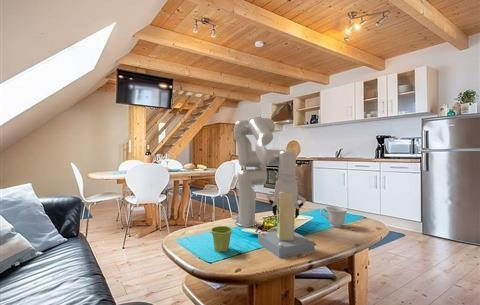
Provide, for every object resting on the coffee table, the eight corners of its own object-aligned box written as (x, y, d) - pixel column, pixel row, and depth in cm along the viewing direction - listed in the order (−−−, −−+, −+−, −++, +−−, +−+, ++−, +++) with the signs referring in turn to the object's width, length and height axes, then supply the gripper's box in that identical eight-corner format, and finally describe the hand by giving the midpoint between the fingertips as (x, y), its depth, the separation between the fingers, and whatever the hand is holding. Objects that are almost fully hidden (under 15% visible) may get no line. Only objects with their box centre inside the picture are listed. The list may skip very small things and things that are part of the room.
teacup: (318, 222, 156) (318, 205, 156) (343, 223, 154) (344, 206, 154) (321, 228, 144) (322, 210, 144) (349, 229, 142) (350, 211, 142)
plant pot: (224, 255, 105) (224, 234, 105) (206, 250, 110) (206, 230, 110) (236, 248, 113) (236, 228, 113) (219, 243, 118) (219, 224, 118)
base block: (279, 257, 104) (279, 245, 104) (257, 242, 120) (258, 231, 120) (314, 251, 111) (314, 239, 111) (289, 237, 128) (290, 227, 128)
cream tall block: (274, 234, 120) (276, 189, 120) (290, 234, 120) (291, 190, 120) (277, 240, 112) (278, 192, 112) (294, 241, 112) (295, 193, 112)
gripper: (265, 177, 115) (264, 215, 115) (305, 180, 109) (304, 220, 109) (269, 175, 122) (268, 211, 122) (307, 178, 116) (306, 216, 116)
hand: (285, 216), depth 116 cm, fingers open, 9 cm apart
